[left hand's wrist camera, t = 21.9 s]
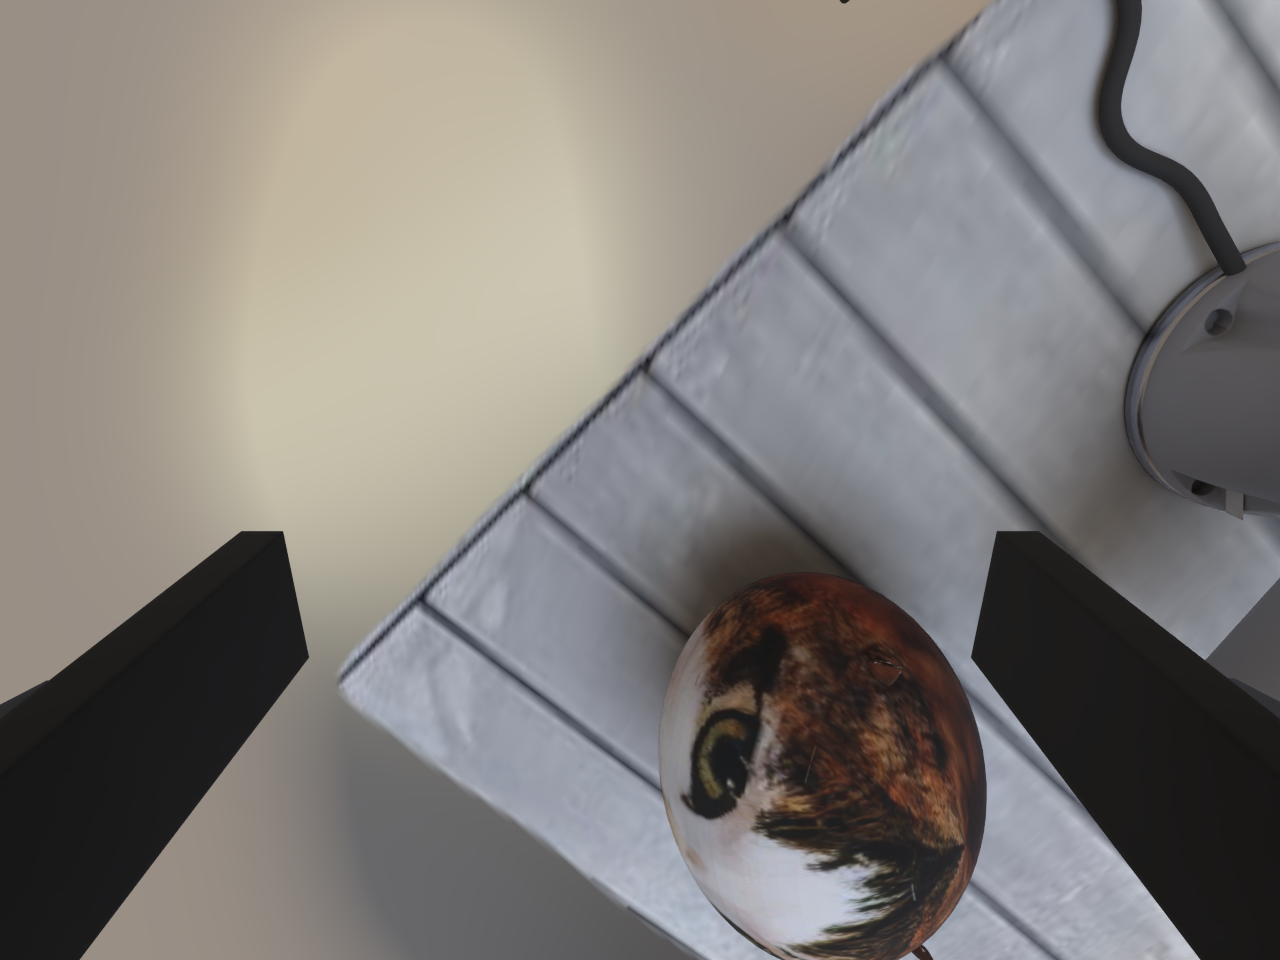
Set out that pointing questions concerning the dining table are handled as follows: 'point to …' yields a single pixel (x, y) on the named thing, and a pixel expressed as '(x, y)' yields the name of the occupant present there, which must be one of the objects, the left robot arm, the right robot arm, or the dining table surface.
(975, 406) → the dining table surface
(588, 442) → the dining table surface
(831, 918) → the cat face balloon
